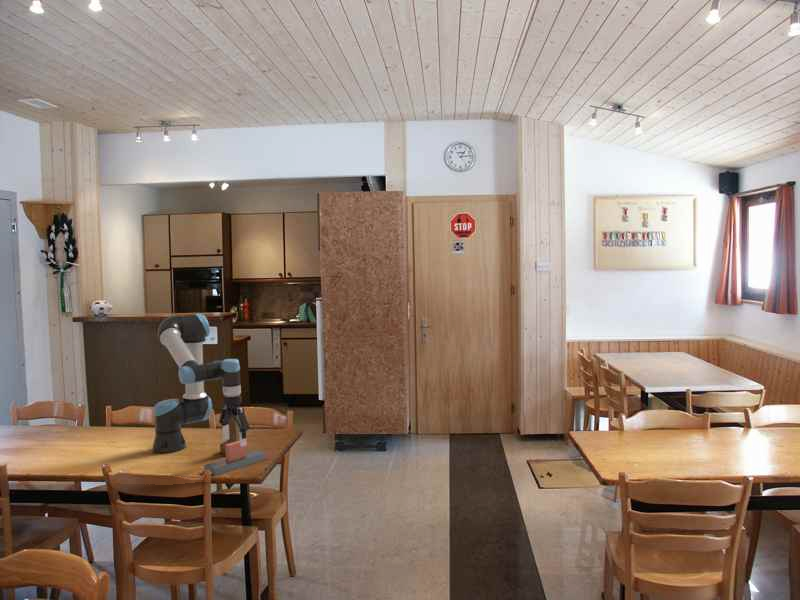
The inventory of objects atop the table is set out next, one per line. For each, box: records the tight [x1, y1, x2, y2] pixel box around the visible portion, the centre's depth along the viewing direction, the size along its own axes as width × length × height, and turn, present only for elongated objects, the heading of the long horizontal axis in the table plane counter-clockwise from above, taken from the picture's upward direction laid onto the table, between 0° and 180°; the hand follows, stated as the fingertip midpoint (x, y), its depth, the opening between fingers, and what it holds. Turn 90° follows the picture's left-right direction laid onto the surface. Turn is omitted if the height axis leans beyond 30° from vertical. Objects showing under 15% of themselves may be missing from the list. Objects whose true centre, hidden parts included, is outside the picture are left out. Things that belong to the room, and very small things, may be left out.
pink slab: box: [224, 441, 247, 462], centre depth 269 cm, size 3×8×10 cm, turn 137°
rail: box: [203, 449, 268, 476], centre depth 269 cm, size 8×26×3 cm, turn 137°
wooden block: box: [219, 416, 240, 454], centre depth 289 cm, size 9×4×18 cm, turn 74°
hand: (234, 442), depth 269 cm, fingers open, 13 cm apart
